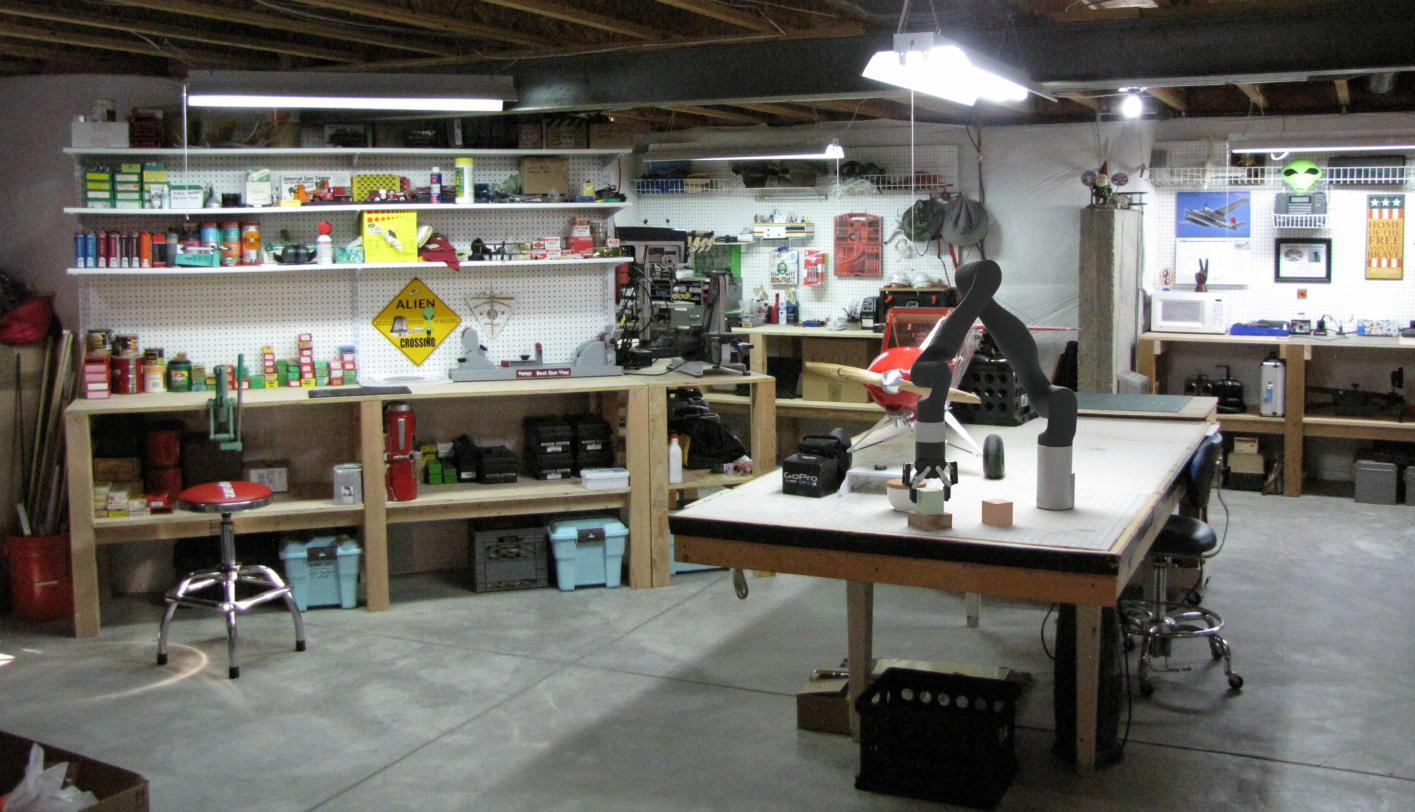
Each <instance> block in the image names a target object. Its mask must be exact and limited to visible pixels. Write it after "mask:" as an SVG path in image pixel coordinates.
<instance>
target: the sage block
mask: <svg viewBox="0 0 1415 812" xmlns="http://www.w3.org/2000/svg"><path fill="white" fill-rule="evenodd" d="M916 489H917V503H915V511H916V512H918V513H920V514H922V515H937V514H944V512H945V501H944V491H943V489H941V488H939V487H936V486H932V487H931V486H930V487H928V486H927V487H926V488H916Z"/></svg>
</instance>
